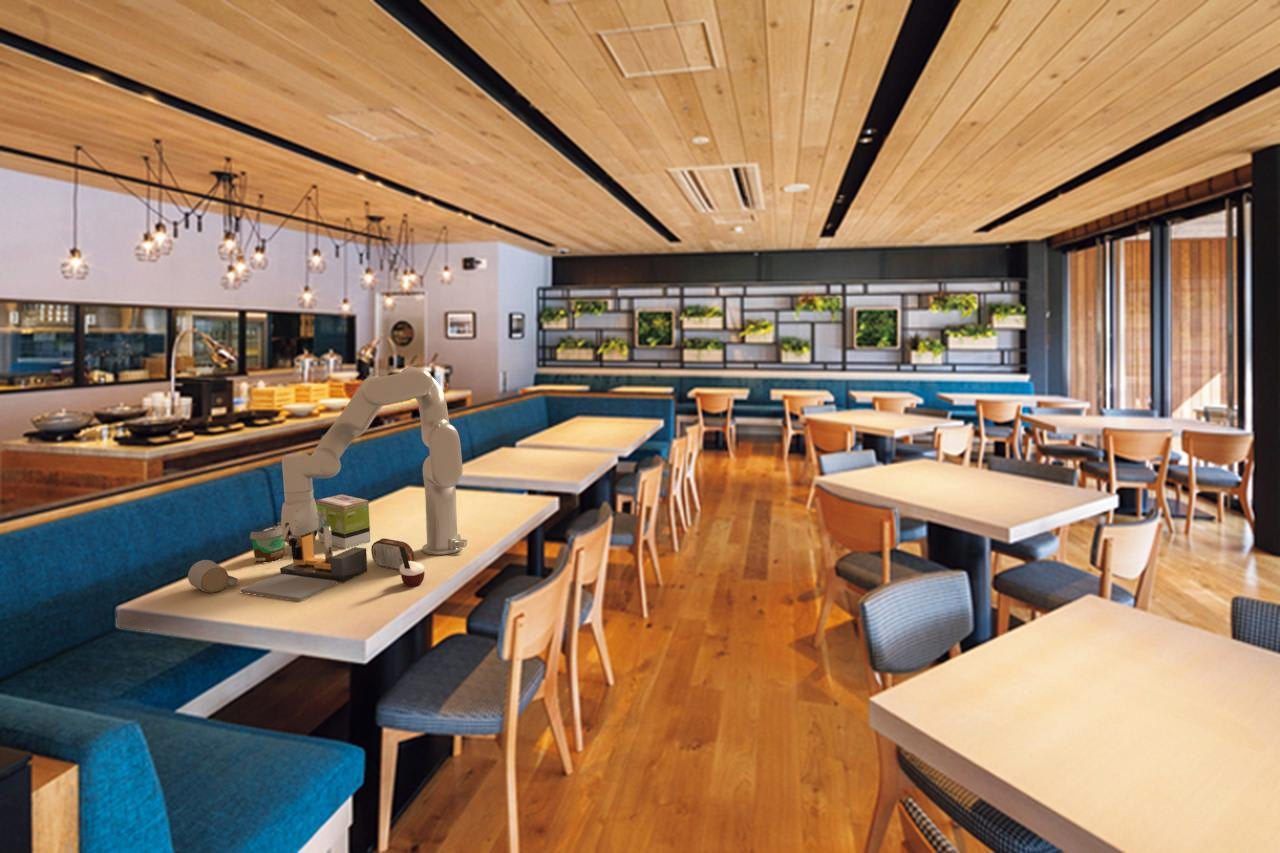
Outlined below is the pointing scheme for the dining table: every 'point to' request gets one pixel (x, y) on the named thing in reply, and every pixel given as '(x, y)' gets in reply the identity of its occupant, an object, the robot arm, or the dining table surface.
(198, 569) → the ceramic mug
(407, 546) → the tin
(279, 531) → the food container
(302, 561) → the orange block with loop
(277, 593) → the rubber mat
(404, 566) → the cocoa
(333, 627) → the dining table surface
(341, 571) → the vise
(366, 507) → the tea box
